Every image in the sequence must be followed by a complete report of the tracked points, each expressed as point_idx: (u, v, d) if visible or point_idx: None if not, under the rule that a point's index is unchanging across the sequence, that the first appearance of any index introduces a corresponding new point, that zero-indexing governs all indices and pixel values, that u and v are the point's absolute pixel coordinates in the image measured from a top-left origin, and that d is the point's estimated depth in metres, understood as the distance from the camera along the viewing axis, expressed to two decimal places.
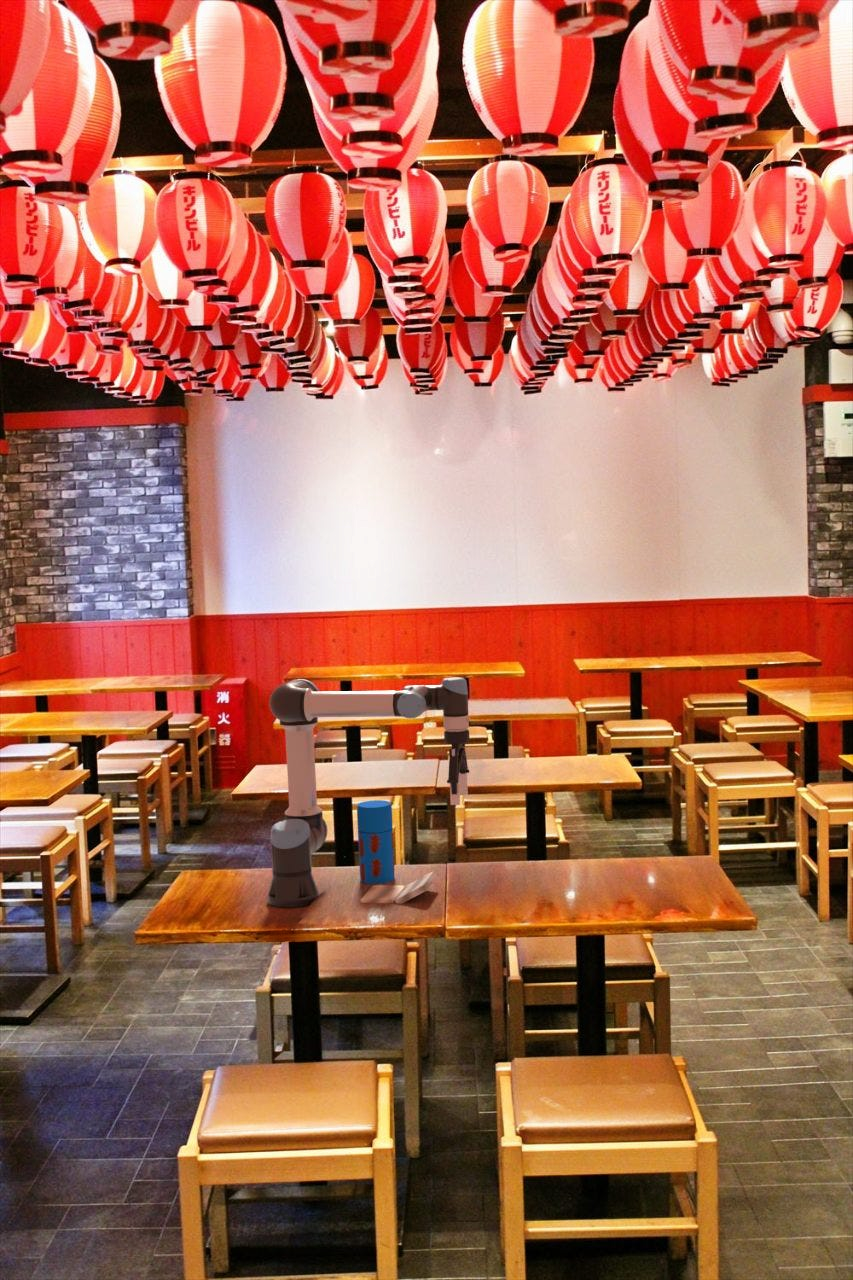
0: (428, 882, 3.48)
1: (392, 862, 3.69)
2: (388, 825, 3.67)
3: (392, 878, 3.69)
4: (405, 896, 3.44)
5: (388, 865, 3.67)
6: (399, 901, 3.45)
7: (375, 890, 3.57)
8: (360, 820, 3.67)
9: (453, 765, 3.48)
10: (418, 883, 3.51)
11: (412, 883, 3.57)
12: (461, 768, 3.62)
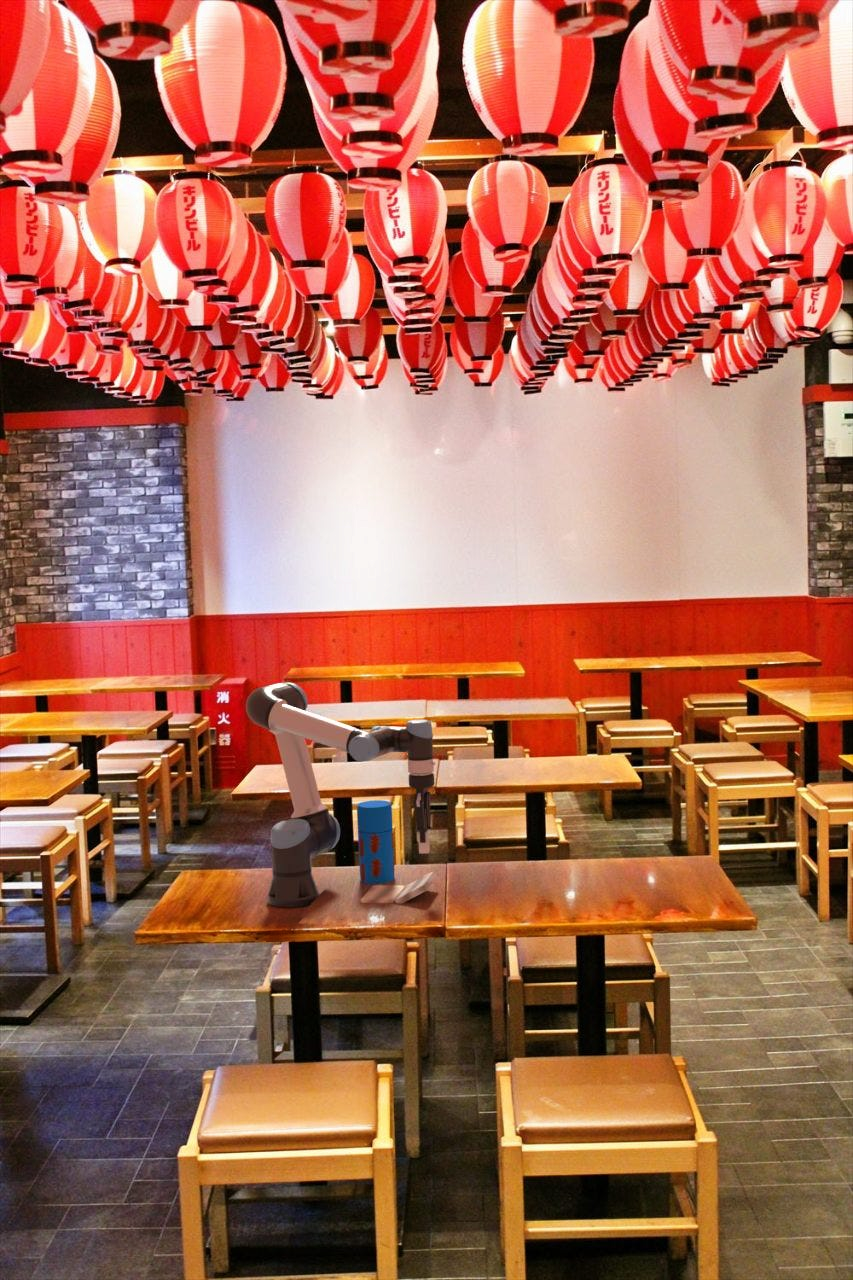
0: (428, 882, 3.48)
1: (392, 862, 3.69)
2: (388, 825, 3.67)
3: (392, 878, 3.69)
4: (405, 896, 3.44)
5: (388, 865, 3.67)
6: (399, 901, 3.45)
7: (375, 890, 3.57)
8: (360, 820, 3.67)
9: (419, 816, 3.44)
10: (418, 883, 3.51)
11: (412, 883, 3.57)
12: None
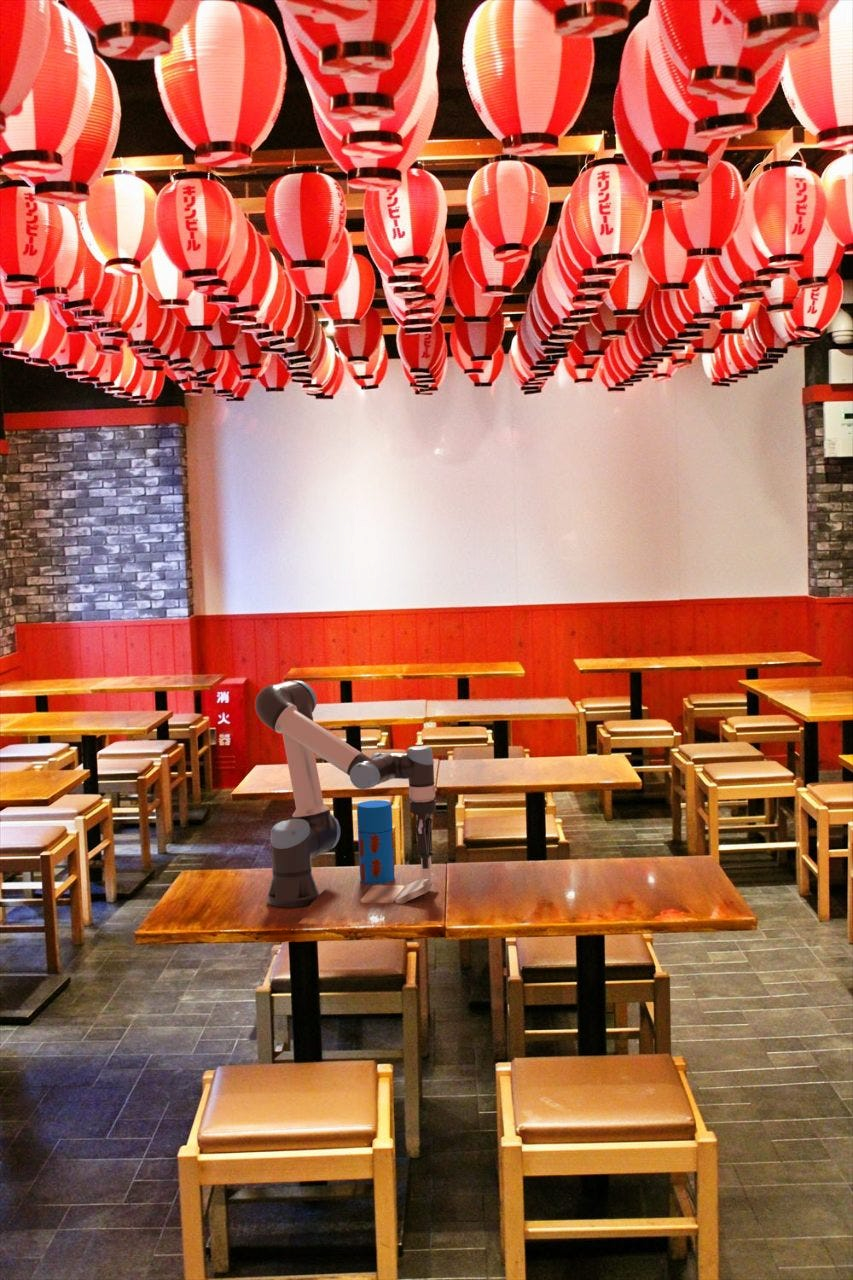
0: (428, 883, 3.48)
1: (392, 862, 3.69)
2: (388, 825, 3.67)
3: (392, 878, 3.69)
4: (405, 896, 3.44)
5: (388, 865, 3.67)
6: (399, 901, 3.45)
7: (375, 890, 3.57)
8: (360, 820, 3.67)
9: (422, 842, 3.45)
10: (419, 884, 3.51)
11: (412, 883, 3.57)
12: None
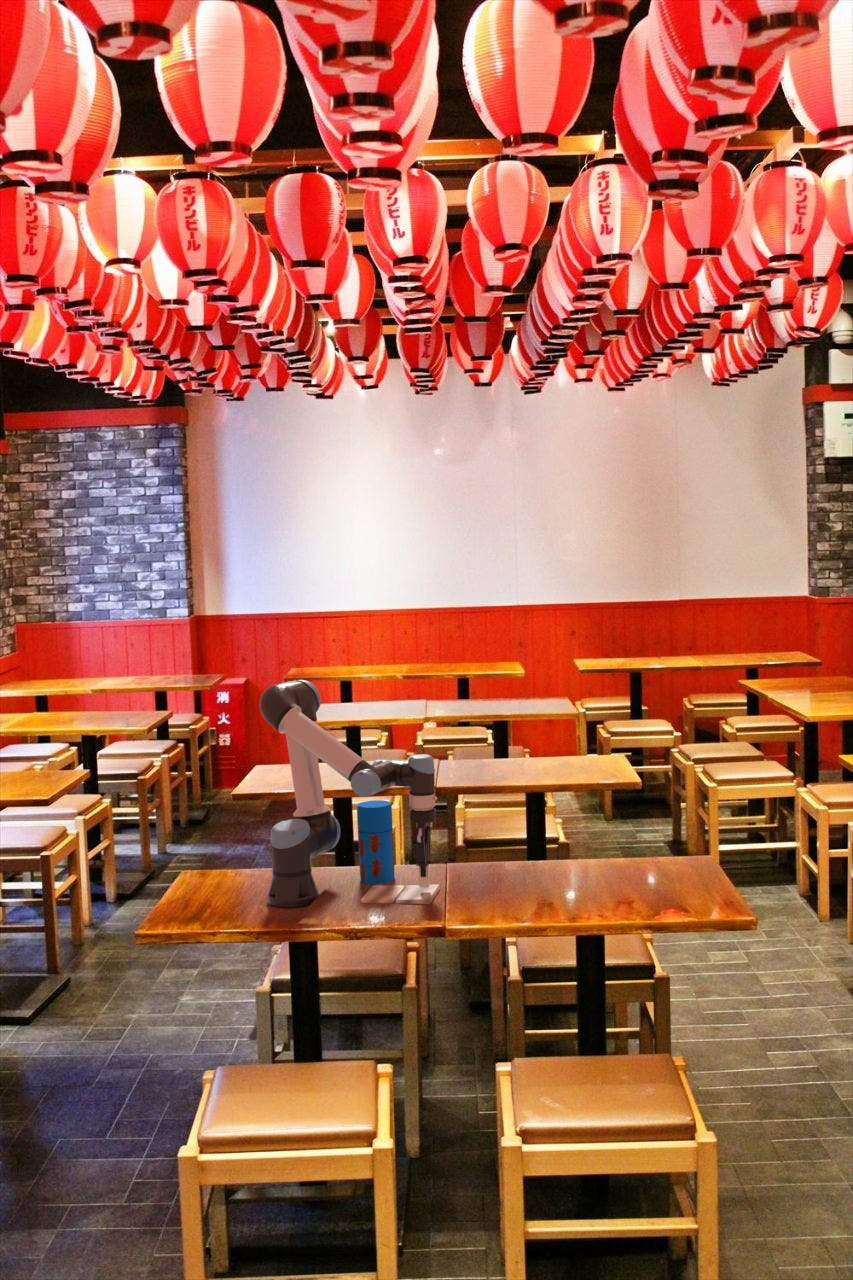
0: (432, 896, 3.48)
1: (392, 862, 3.69)
2: (388, 825, 3.67)
3: (392, 878, 3.69)
4: (407, 901, 3.44)
5: (388, 865, 3.67)
6: None
7: (375, 890, 3.57)
8: (360, 820, 3.67)
9: (420, 851, 3.45)
10: (422, 892, 3.51)
11: (415, 887, 3.57)
12: None
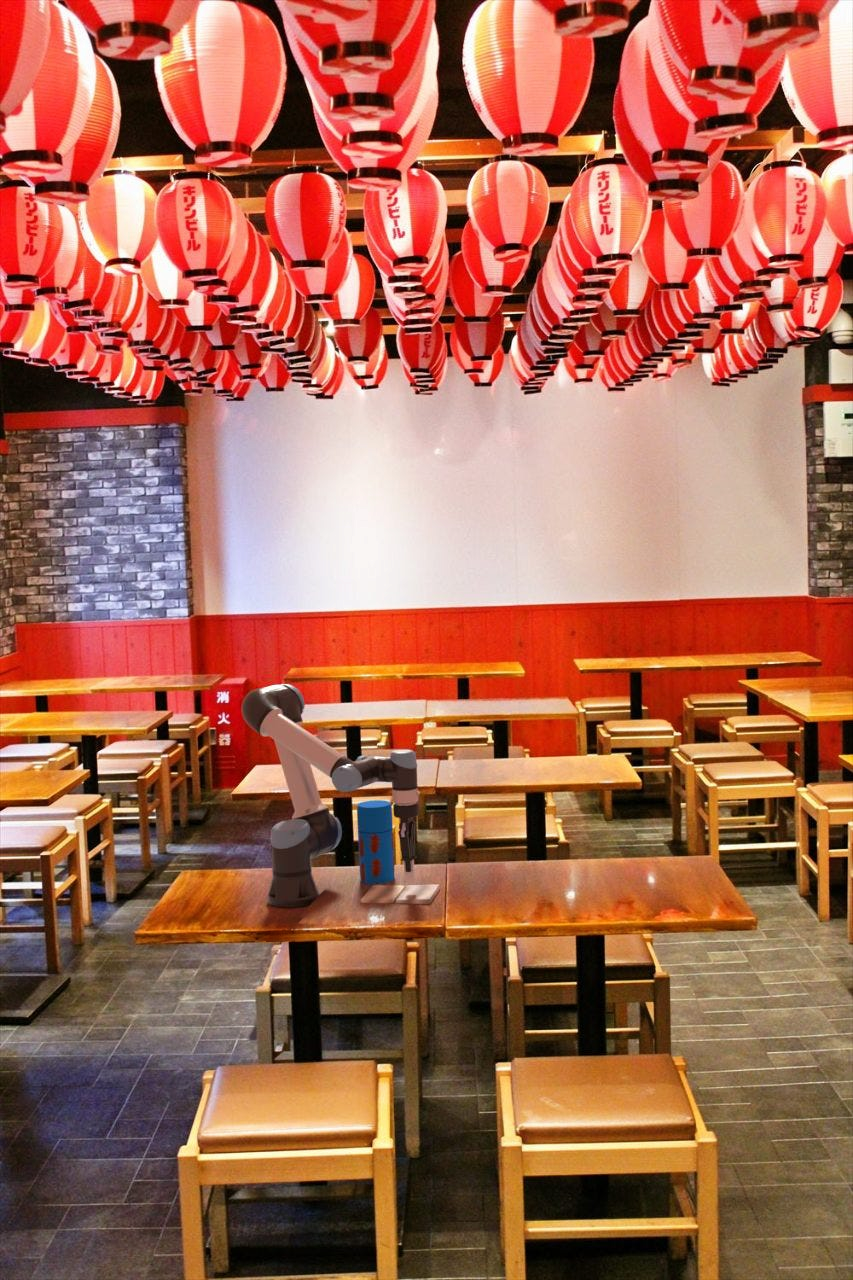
0: (432, 896, 3.48)
1: (392, 862, 3.69)
2: (388, 825, 3.67)
3: (392, 878, 3.69)
4: (407, 901, 3.44)
5: (388, 865, 3.67)
6: None
7: (375, 890, 3.57)
8: (360, 820, 3.67)
9: (404, 846, 3.46)
10: (422, 892, 3.51)
11: (415, 887, 3.57)
12: None
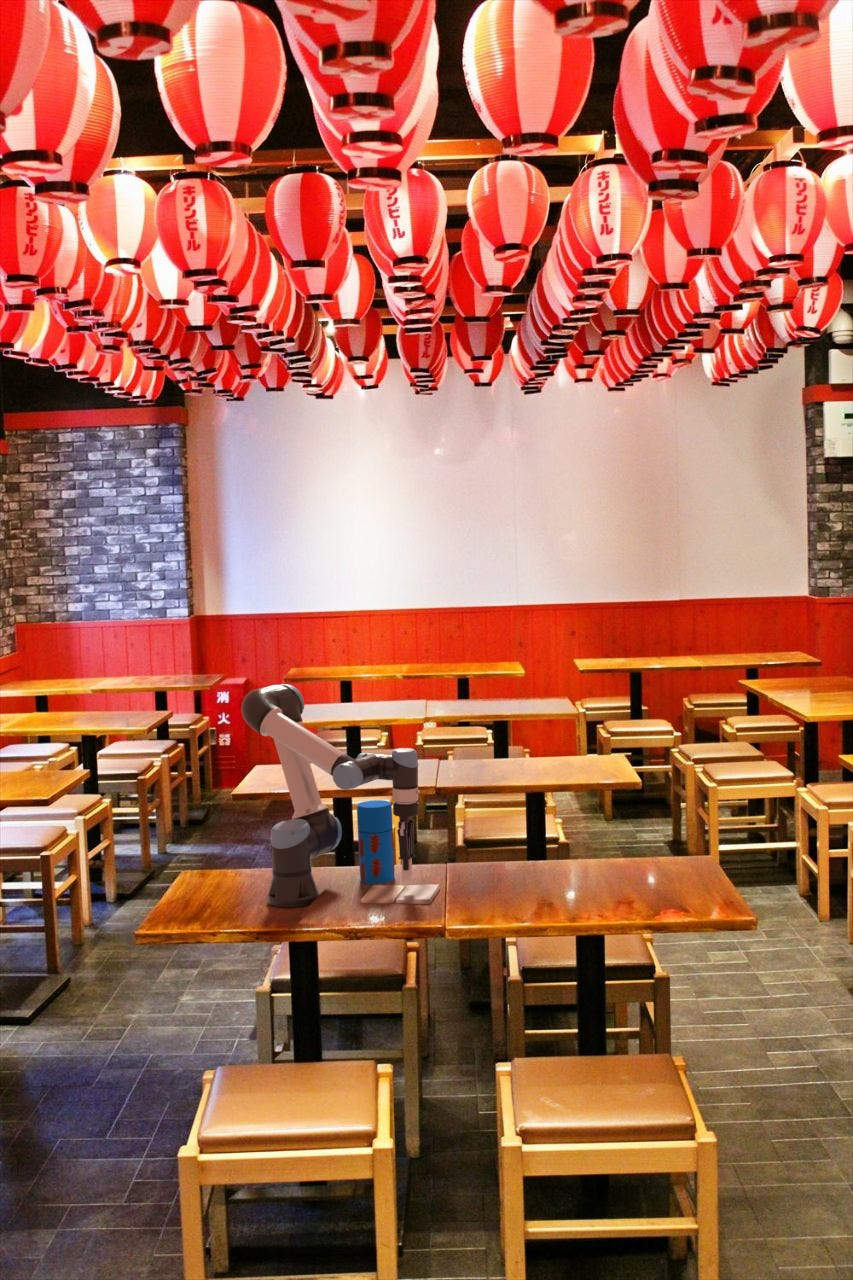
0: (432, 896, 3.48)
1: (392, 862, 3.69)
2: (388, 825, 3.67)
3: (392, 878, 3.69)
4: (407, 901, 3.44)
5: (388, 865, 3.67)
6: None
7: (375, 890, 3.57)
8: (360, 820, 3.67)
9: (403, 844, 3.46)
10: (422, 892, 3.51)
11: (415, 887, 3.57)
12: None
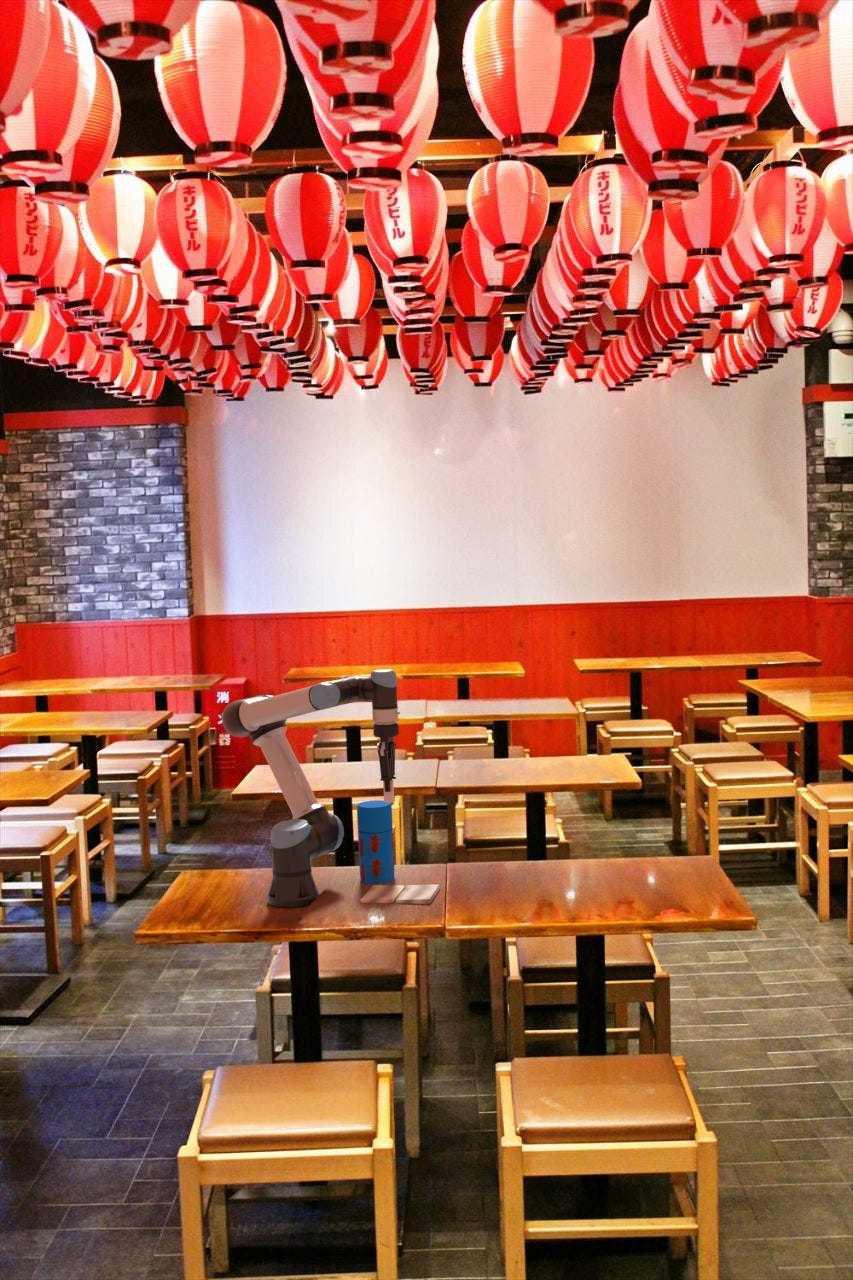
0: (432, 896, 3.48)
1: (392, 862, 3.69)
2: (388, 825, 3.67)
3: (392, 878, 3.69)
4: (407, 901, 3.44)
5: (388, 865, 3.67)
6: None
7: (375, 890, 3.57)
8: (360, 820, 3.67)
9: (384, 765, 3.45)
10: (422, 892, 3.51)
11: (415, 887, 3.57)
12: None
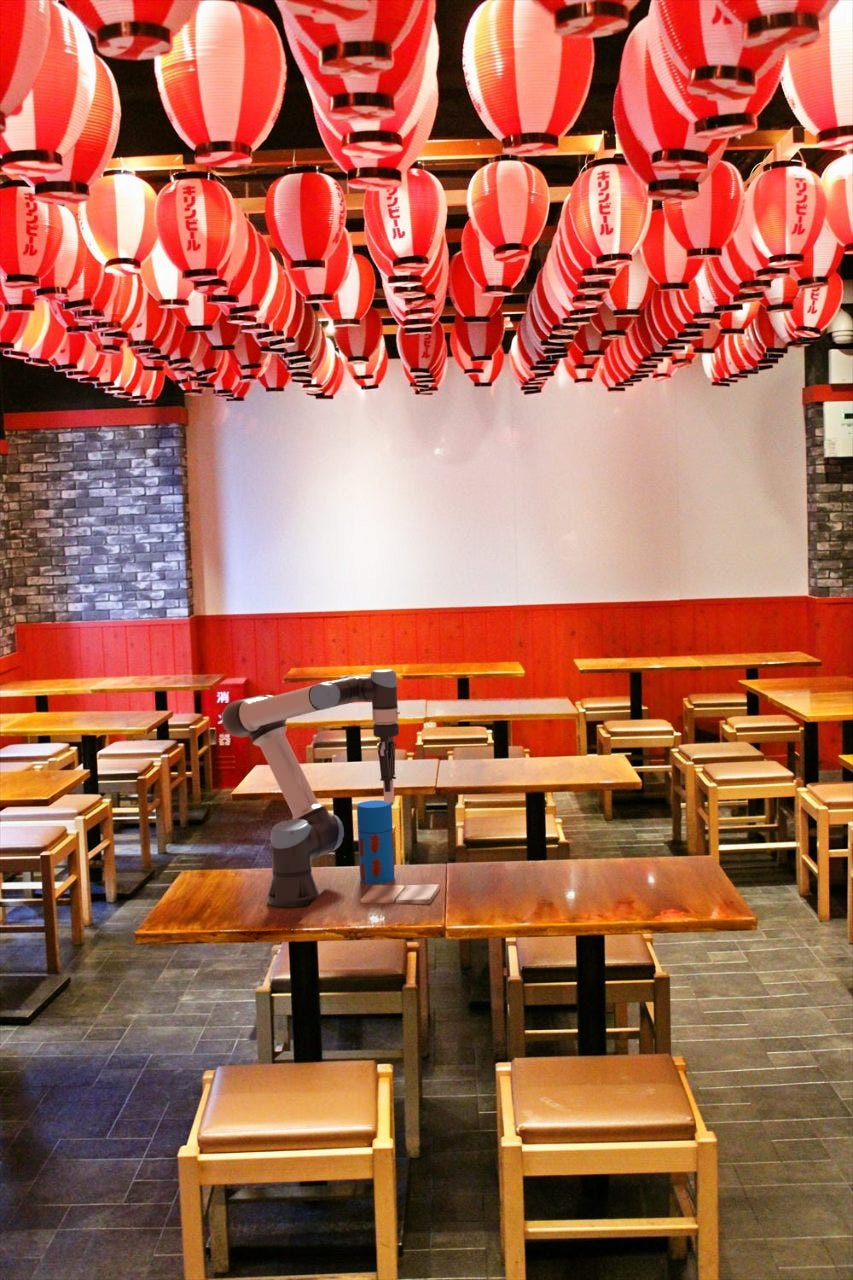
0: (432, 896, 3.48)
1: (392, 862, 3.69)
2: (388, 825, 3.67)
3: (392, 878, 3.69)
4: (407, 901, 3.44)
5: (388, 865, 3.67)
6: None
7: (375, 890, 3.57)
8: (360, 820, 3.67)
9: (384, 765, 3.45)
10: (422, 892, 3.51)
11: (415, 887, 3.57)
12: None
